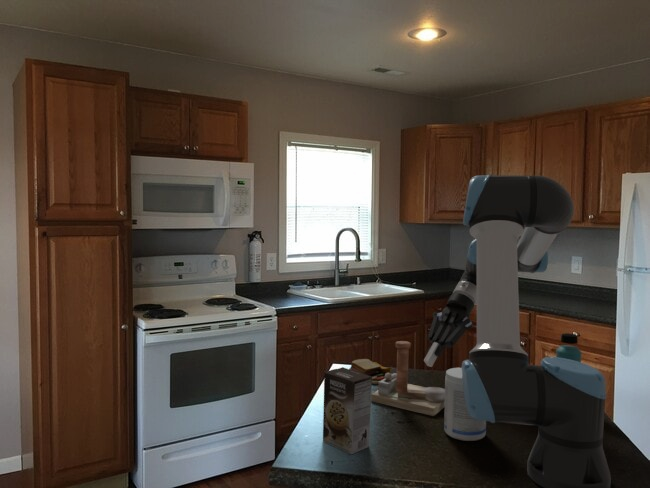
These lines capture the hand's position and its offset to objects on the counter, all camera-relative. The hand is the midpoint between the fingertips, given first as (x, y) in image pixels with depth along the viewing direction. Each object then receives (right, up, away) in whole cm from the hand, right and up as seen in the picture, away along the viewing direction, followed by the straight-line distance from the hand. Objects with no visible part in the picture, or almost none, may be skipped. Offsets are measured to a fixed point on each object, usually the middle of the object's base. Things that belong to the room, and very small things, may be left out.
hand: (427, 363), depth 155 cm
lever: (-3, -7, -8) cm, 11 cm away
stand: (-5, -9, -5) cm, 11 cm away
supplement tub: (+4, -11, -26) cm, 28 cm away
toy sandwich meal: (-15, -8, +15) cm, 22 cm away
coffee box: (-24, -11, -32) cm, 42 cm away
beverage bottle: (+36, -10, -7) cm, 38 cm away
